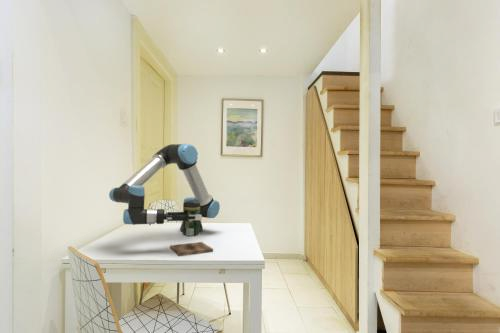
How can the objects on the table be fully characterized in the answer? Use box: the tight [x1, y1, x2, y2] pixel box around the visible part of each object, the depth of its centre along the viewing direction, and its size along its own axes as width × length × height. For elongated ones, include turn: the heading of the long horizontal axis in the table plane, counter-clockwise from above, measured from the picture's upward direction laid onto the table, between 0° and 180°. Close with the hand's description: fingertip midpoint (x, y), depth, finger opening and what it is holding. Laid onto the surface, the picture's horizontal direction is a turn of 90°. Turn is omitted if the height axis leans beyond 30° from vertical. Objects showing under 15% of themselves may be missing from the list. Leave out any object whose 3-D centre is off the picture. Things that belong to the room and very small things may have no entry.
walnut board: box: [169, 241, 214, 257], centre depth 159 cm, size 18×16×2 cm
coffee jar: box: [182, 200, 201, 238], centre depth 159 cm, size 10×8×19 cm
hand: (200, 215), depth 160 cm, fingers closed on coffee jar, 9 cm apart
